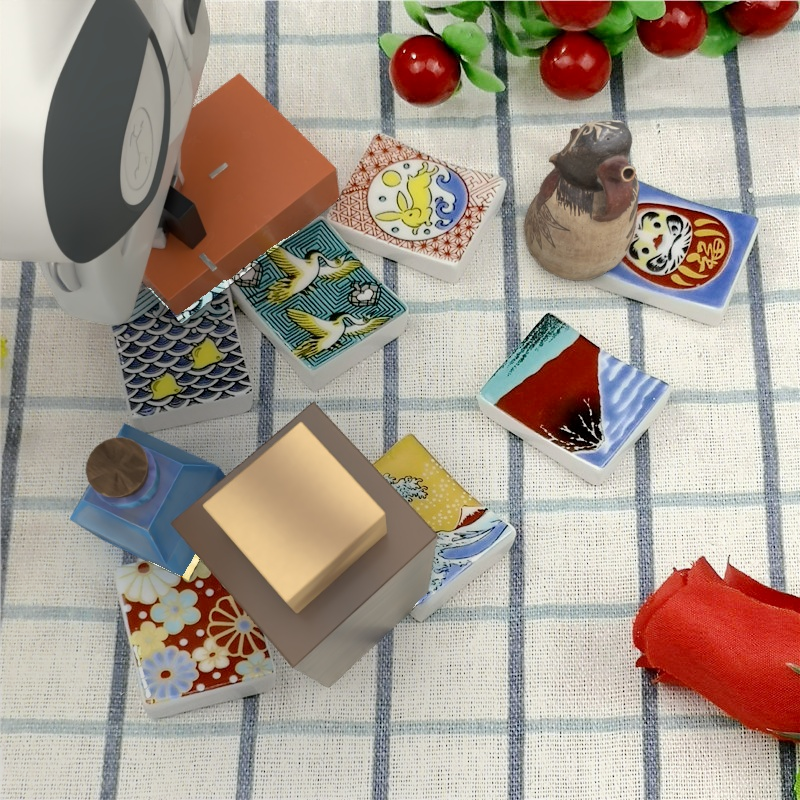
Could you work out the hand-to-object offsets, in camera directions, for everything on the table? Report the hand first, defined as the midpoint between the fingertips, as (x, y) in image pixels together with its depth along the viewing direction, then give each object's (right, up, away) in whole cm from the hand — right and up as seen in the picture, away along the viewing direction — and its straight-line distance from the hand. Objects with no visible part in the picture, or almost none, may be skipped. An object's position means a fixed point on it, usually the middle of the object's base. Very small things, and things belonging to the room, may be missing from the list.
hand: (163, 213), depth 65 cm
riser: (+11, -24, -4) cm, 26 cm away
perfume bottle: (+1, -19, -2) cm, 19 cm away
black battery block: (0, 0, 0) cm, 0 cm away
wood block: (+11, -17, -23) cm, 31 cm away
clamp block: (+3, +1, +5) cm, 5 cm away
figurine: (+27, -1, +4) cm, 28 cm away
